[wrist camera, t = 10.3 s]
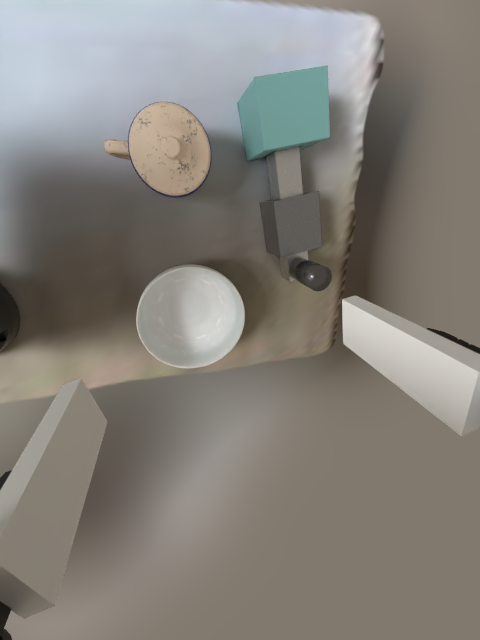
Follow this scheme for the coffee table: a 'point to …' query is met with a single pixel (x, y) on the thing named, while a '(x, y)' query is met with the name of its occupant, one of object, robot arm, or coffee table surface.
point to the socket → (285, 111)
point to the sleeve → (292, 224)
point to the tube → (285, 185)
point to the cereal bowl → (190, 316)
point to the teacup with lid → (166, 149)
